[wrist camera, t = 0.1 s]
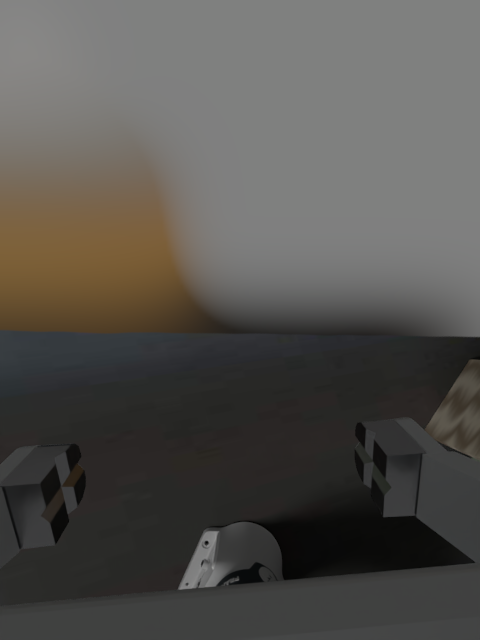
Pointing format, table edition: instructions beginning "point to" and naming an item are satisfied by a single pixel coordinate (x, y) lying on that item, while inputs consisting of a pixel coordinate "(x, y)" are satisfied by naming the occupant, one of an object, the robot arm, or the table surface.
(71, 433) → the table surface
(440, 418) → the wood grain stool
